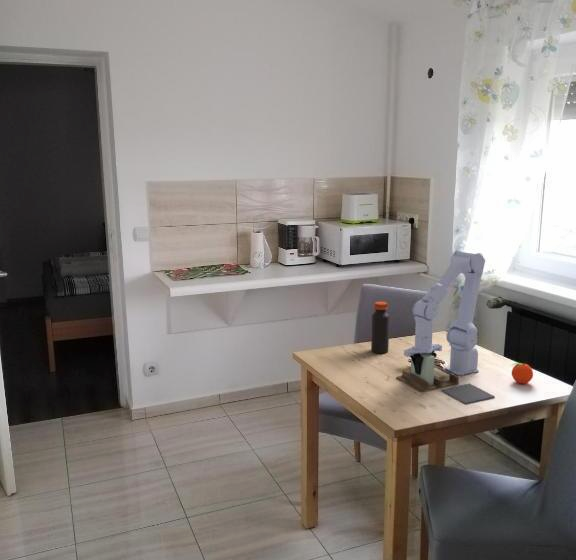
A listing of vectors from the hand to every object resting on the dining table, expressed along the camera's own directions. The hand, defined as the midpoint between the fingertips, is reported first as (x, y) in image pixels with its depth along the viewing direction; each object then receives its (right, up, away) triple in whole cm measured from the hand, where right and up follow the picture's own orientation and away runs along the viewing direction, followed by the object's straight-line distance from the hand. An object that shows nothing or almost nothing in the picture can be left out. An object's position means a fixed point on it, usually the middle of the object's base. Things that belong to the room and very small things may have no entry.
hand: (422, 372), depth 207 cm
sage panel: (0, -3, +1) cm, 3 cm away
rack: (+2, -3, +2) cm, 4 cm away
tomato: (+34, -4, 0) cm, 34 cm away
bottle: (-10, +3, +32) cm, 34 cm away
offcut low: (+6, -2, +3) cm, 7 cm away
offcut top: (+6, -1, +3) cm, 7 cm away
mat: (+13, -6, -10) cm, 17 cm away
